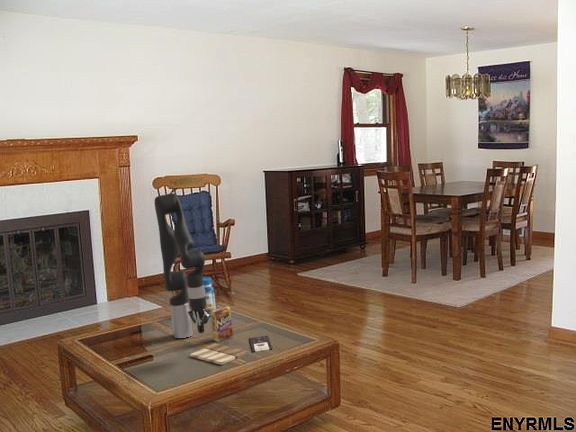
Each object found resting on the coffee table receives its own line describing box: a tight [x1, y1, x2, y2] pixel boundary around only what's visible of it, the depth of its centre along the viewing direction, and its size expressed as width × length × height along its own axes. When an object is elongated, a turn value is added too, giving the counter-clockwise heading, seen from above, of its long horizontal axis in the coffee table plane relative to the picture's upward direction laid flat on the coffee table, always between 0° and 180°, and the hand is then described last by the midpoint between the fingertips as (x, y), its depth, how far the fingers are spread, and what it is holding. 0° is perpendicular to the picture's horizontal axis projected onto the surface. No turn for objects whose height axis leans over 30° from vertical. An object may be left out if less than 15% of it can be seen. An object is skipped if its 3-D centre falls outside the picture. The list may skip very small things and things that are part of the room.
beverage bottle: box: [203, 277, 217, 316], centre depth 330 cm, size 8×8×20 cm
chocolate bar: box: [249, 335, 273, 353], centre depth 275 cm, size 9×1×18 cm
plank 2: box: [205, 352, 236, 366], centre depth 260 cm, size 10×8×1 cm
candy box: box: [210, 305, 234, 343], centre depth 286 cm, size 9×4×15 cm, turn 123°
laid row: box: [204, 342, 248, 360], centre depth 269 cm, size 22×6×1 cm, turn 49°
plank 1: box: [190, 347, 218, 361], centre depth 267 cm, size 10×8×1 cm
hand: (201, 332), depth 266 cm, fingers closed
